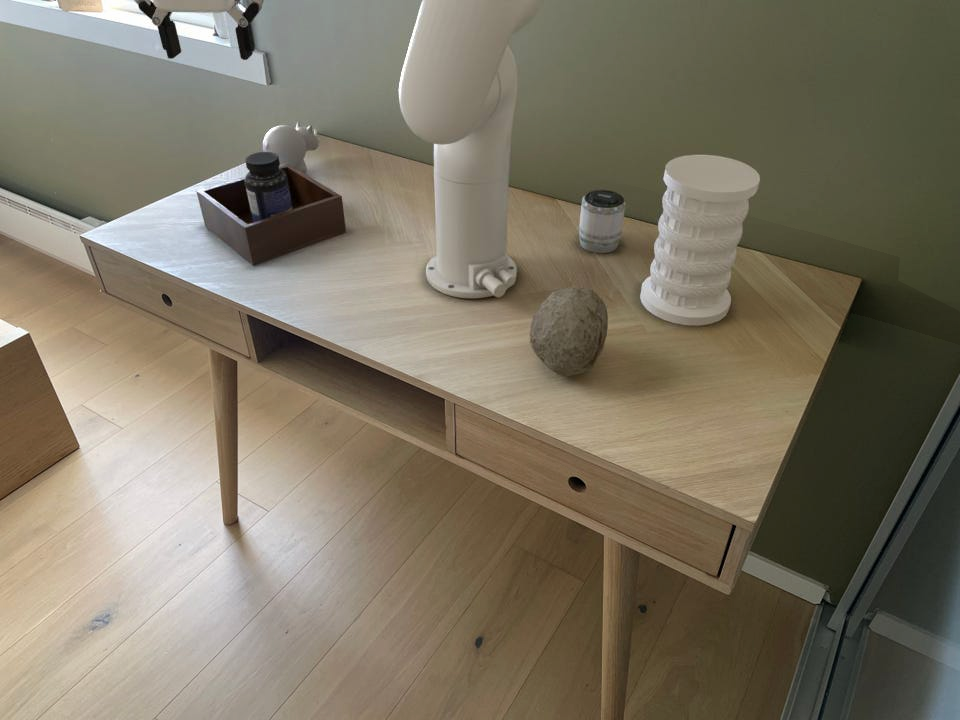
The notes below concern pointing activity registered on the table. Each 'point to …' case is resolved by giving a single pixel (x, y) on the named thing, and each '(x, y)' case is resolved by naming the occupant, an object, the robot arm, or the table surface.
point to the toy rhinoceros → (291, 144)
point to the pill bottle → (266, 186)
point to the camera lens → (601, 221)
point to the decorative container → (698, 238)
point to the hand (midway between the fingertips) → (211, 56)
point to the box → (278, 234)
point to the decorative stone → (570, 330)
